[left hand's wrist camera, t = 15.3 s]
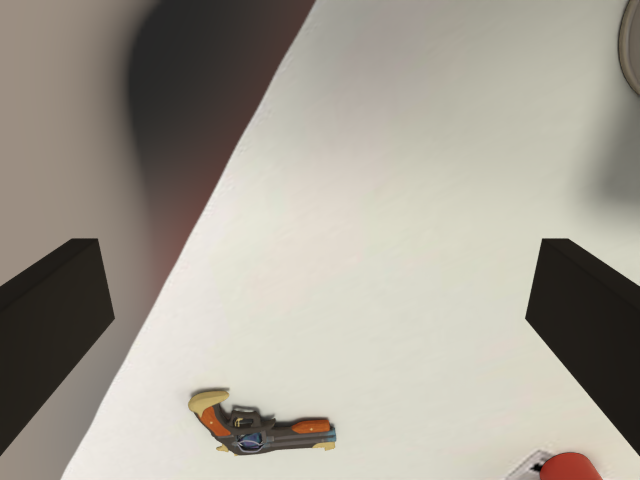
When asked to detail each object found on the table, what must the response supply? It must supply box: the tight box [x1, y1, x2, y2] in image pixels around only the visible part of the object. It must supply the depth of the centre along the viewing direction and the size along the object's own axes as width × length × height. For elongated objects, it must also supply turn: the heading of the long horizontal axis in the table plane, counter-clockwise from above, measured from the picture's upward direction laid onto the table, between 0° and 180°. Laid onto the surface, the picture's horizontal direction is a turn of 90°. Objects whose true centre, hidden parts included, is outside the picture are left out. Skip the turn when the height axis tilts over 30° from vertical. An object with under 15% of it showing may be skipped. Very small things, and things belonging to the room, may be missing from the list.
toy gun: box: [188, 391, 336, 456], centre depth 56 cm, size 3×19×10 cm
